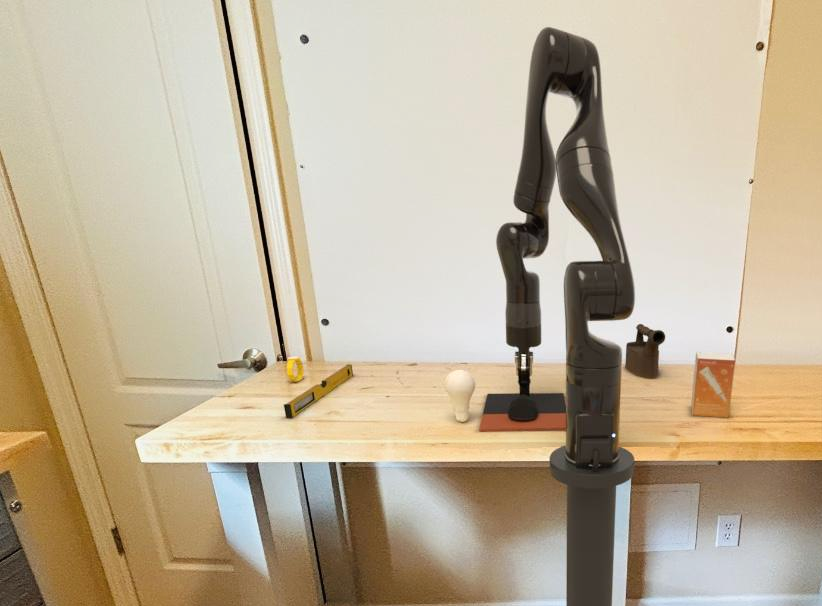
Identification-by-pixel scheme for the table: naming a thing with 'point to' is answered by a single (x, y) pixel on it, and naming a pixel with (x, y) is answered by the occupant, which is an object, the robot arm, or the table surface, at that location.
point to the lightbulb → (460, 392)
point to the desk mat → (547, 419)
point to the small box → (712, 384)
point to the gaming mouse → (523, 408)
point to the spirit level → (317, 391)
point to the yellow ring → (290, 368)
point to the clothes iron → (644, 352)
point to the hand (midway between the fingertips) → (524, 399)
